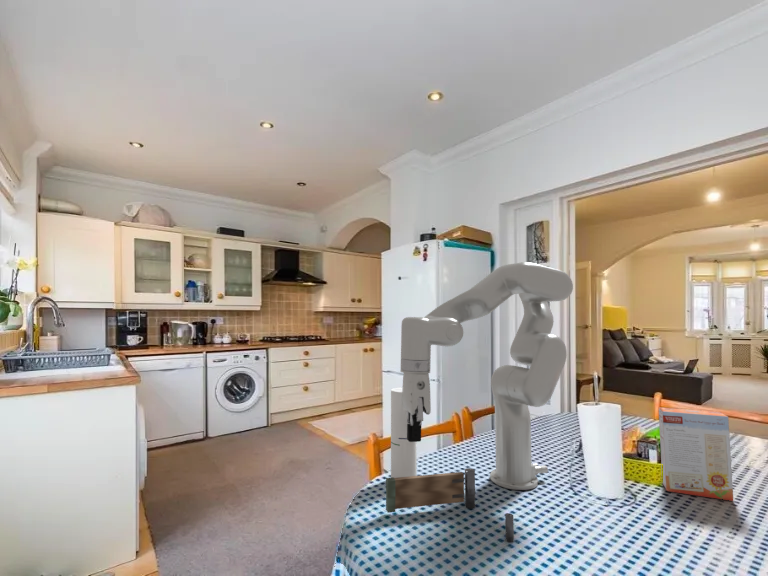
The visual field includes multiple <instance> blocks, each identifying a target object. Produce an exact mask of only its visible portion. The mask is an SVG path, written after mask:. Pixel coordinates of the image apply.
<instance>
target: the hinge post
mask: <svg viewBox="0 0 768 576" xmlns="http://www.w3.org/2000/svg"><path fill="white" fill-rule="evenodd" d="M475 470H476V469H474V468H471V467H469V468H465V469H464V507H465V508H466V509H470V510H471V509H475V508H476V471H475Z"/></svg>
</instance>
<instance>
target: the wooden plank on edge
mask: <svg viewBox="0 0 768 576" xmlns="http://www.w3.org/2000/svg"><path fill="white" fill-rule="evenodd" d="M385 478H386V479H385V510H386V512H387V513H388V514H389V513H390V514H391V513H396V510H397V509H398V510H399V509H408V508H418V507H425V506H426V507H428V506H436V505H444V504H445V505H446V504H455V503H465V473H464V472H463V471H457V472H445V473H435V474H423V475H417V476H409V477H398V478H394V477H392V478H391V477H385Z"/></svg>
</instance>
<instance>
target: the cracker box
mask: <svg viewBox="0 0 768 576" xmlns="http://www.w3.org/2000/svg"><path fill="white" fill-rule="evenodd" d="M658 420H659V421H658V422H659V427H658V428H659V439H660V440H659V441H660V442H659V443H660V445H659V446H660V458H661V459H660V460H661V464H663V483H662V485H663V486H664V489H665V490H666V491H667V492H671V493H678V494H683V495H690V496H691V495H692V496H696V497H705V498H710V499H716V500H722V499H723V500H722V501H728V500H729V501H731V502H734V490H733V489H734V488H733V485H734V484H733V473H732V472H733V470H732V469H733V467H732V456H731V439H730V425H729V423H730V422H729V420H730V419H729V416H728V415H726V414H724V413H722V412H721V411H713V410H712V411H711V410H701V409H700V410H699V409H687V408H678V407H677V408H675V407H663V406H662V407H660V406H659V407H658Z"/></svg>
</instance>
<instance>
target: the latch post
mask: <svg viewBox="0 0 768 576" xmlns="http://www.w3.org/2000/svg"><path fill="white" fill-rule="evenodd" d="M504 515H505V516H504V517H505V519H504V524H505V527H504V529H505V530H504V531H505V542H507V543H512V544H513V543H514V542H515V539H514V535H515V534H514V533H515V531H514V530H515V529H514V525H515V524H514V514H512V513H508V512H506V513H505V514H504Z"/></svg>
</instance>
